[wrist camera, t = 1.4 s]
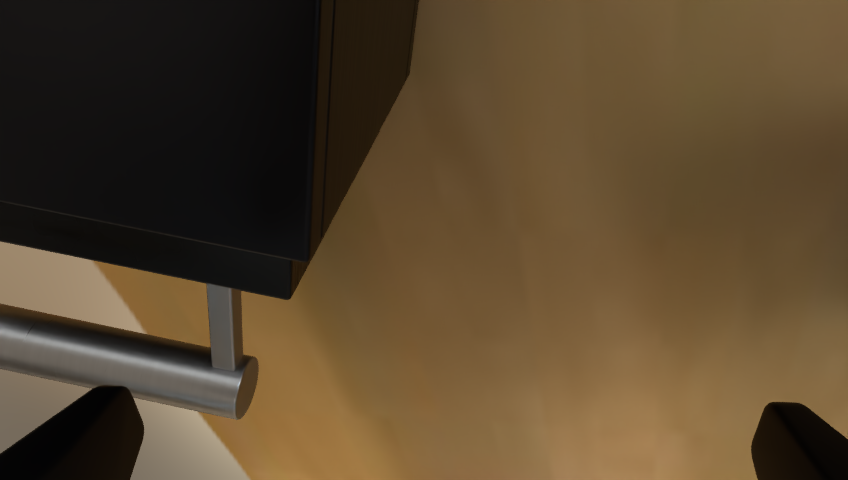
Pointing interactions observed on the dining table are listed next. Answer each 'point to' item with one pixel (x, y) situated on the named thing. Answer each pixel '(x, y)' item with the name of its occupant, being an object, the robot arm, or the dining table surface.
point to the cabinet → (198, 112)
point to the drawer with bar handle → (136, 352)
